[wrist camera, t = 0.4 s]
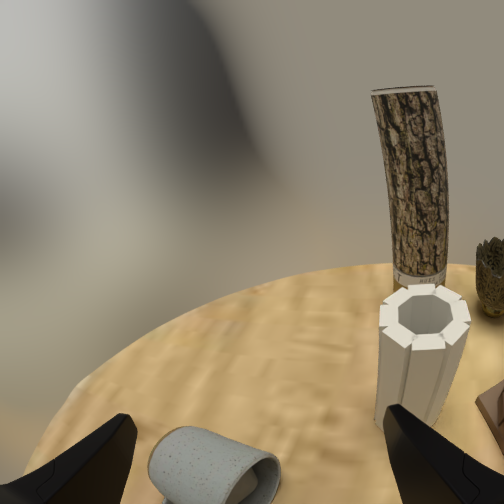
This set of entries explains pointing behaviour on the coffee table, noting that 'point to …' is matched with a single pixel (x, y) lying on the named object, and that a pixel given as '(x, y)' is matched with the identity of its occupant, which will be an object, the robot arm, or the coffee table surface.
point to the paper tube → (415, 182)
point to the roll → (419, 349)
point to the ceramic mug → (211, 469)
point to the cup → (491, 276)
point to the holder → (494, 411)
